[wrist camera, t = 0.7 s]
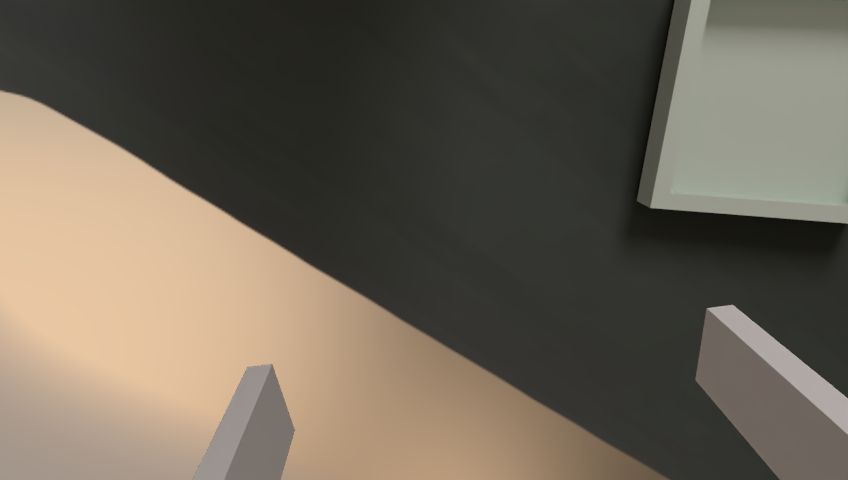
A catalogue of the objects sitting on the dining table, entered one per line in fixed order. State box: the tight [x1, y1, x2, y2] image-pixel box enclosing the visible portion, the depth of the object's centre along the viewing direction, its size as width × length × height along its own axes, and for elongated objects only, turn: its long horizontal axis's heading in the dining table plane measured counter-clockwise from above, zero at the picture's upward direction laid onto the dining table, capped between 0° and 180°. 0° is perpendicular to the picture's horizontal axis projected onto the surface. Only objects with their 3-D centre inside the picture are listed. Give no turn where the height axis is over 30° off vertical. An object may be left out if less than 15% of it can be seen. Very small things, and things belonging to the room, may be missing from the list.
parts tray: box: [637, 0, 848, 223], centre depth 32 cm, size 16×16×3 cm
